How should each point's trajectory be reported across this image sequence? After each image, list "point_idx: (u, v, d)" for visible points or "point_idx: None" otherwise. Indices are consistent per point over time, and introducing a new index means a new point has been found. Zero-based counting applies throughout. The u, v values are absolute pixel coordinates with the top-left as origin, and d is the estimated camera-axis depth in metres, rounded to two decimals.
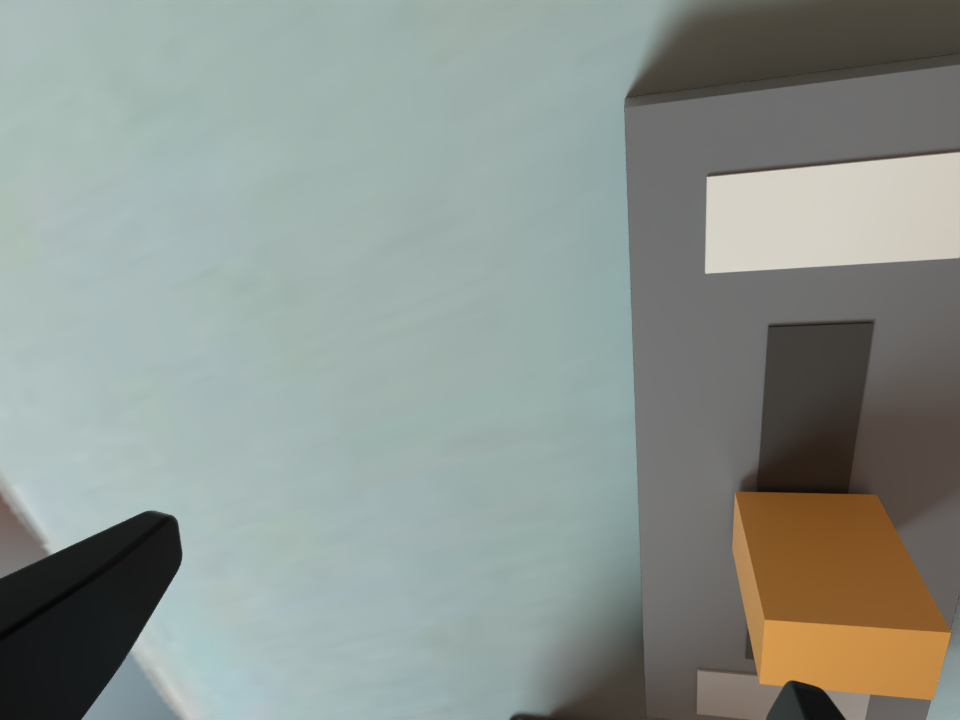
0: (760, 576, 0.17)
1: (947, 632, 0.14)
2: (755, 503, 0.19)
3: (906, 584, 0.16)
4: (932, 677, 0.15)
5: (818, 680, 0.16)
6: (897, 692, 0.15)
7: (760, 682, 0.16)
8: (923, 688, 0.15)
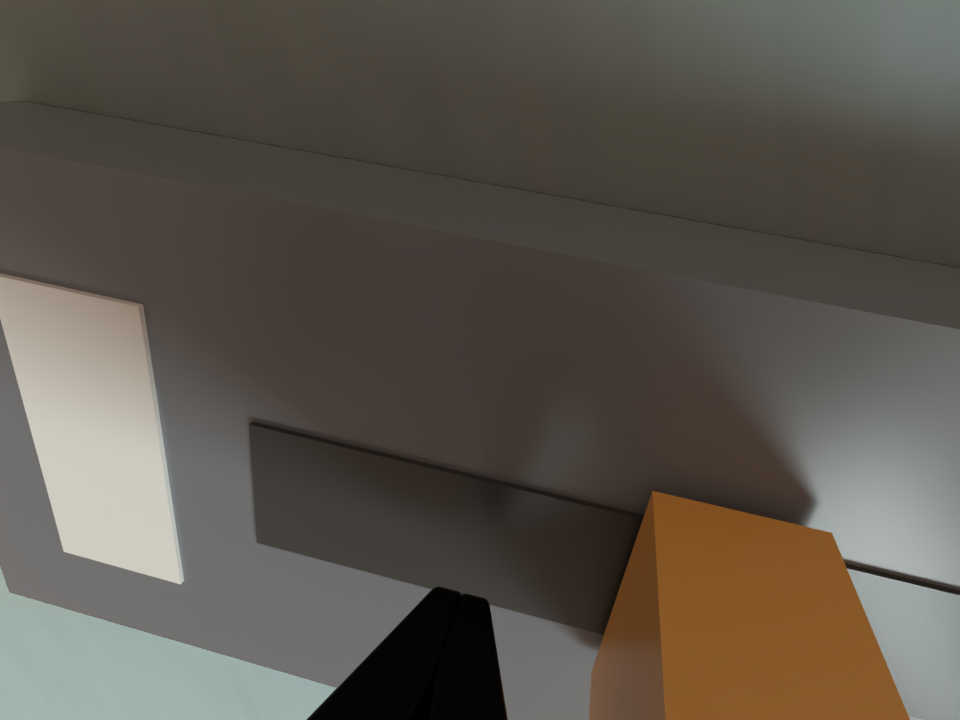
0: None
1: None
2: (596, 682, 0.10)
3: None
4: None
5: None
6: None
7: None
8: None
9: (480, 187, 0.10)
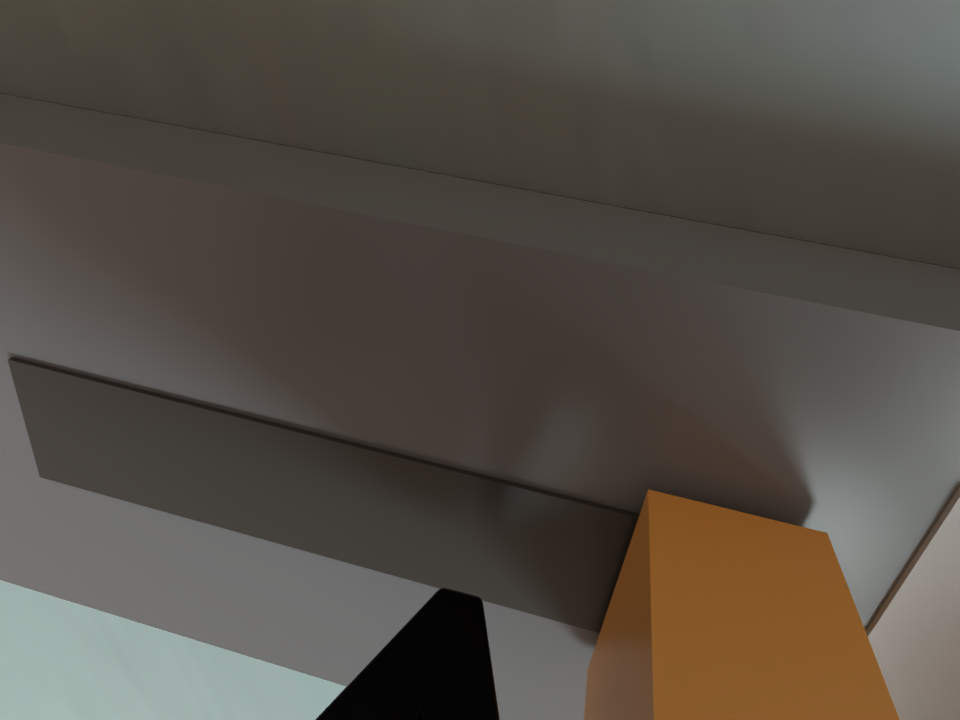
0: None
1: None
2: (591, 679, 0.10)
3: None
4: None
5: None
6: None
7: None
8: None
9: (231, 140, 0.11)
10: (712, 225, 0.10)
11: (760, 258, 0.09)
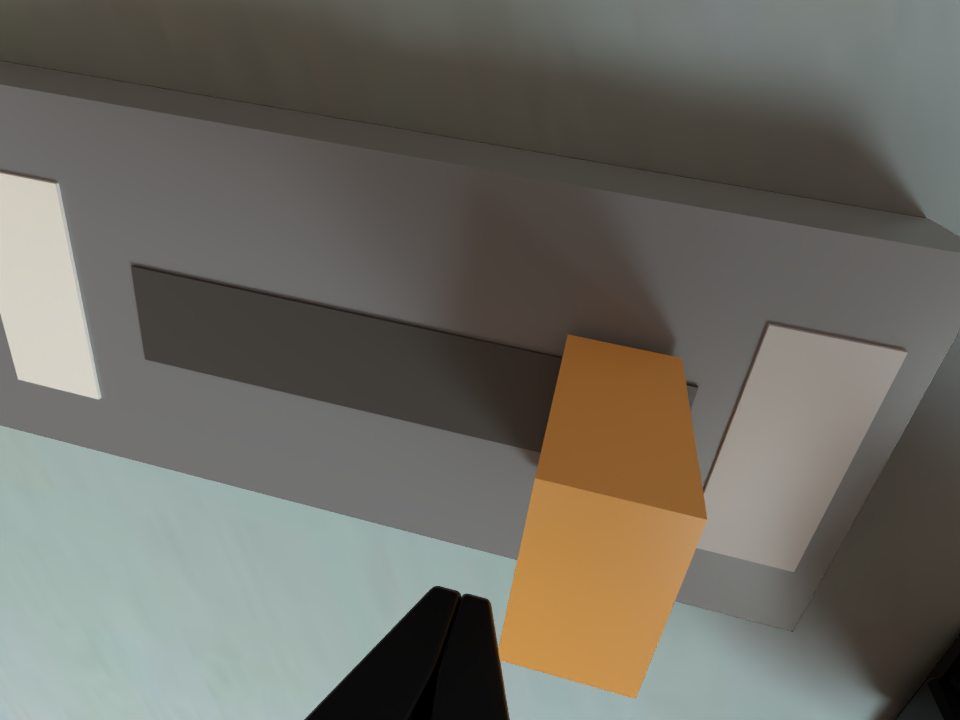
0: None
1: (535, 481, 0.09)
2: None
3: None
4: (644, 513, 0.09)
5: (634, 638, 0.10)
6: (677, 558, 0.09)
7: None
8: (672, 526, 0.09)
9: (287, 112, 0.15)
10: (623, 167, 0.14)
11: (646, 183, 0.13)
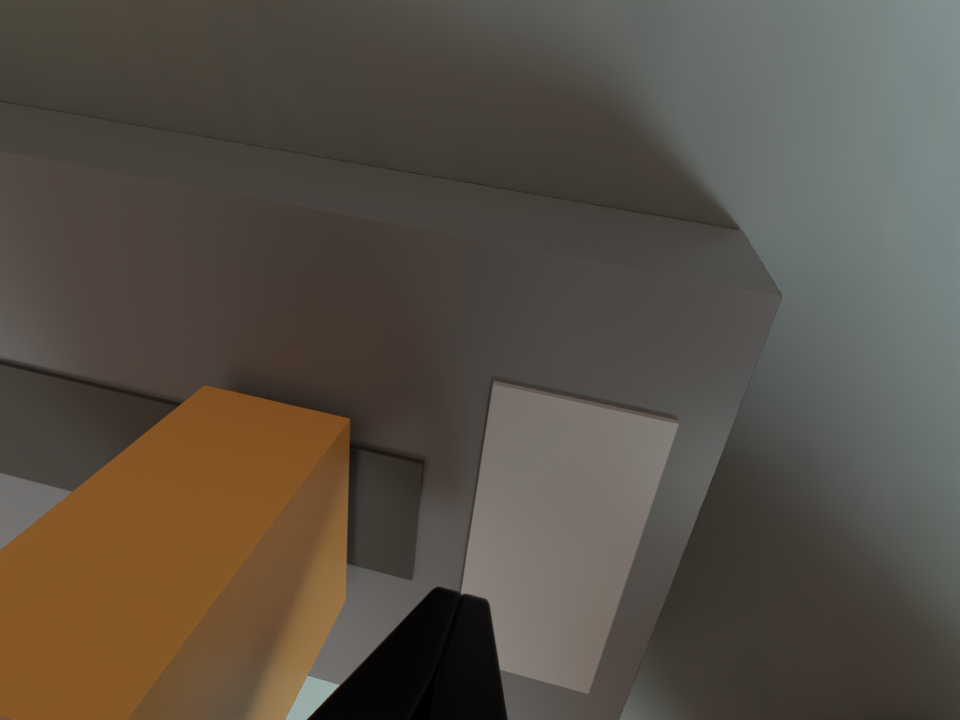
0: None
1: None
2: None
3: None
4: None
5: None
6: None
7: None
8: None
9: None
10: (351, 163, 0.11)
11: (346, 184, 0.10)
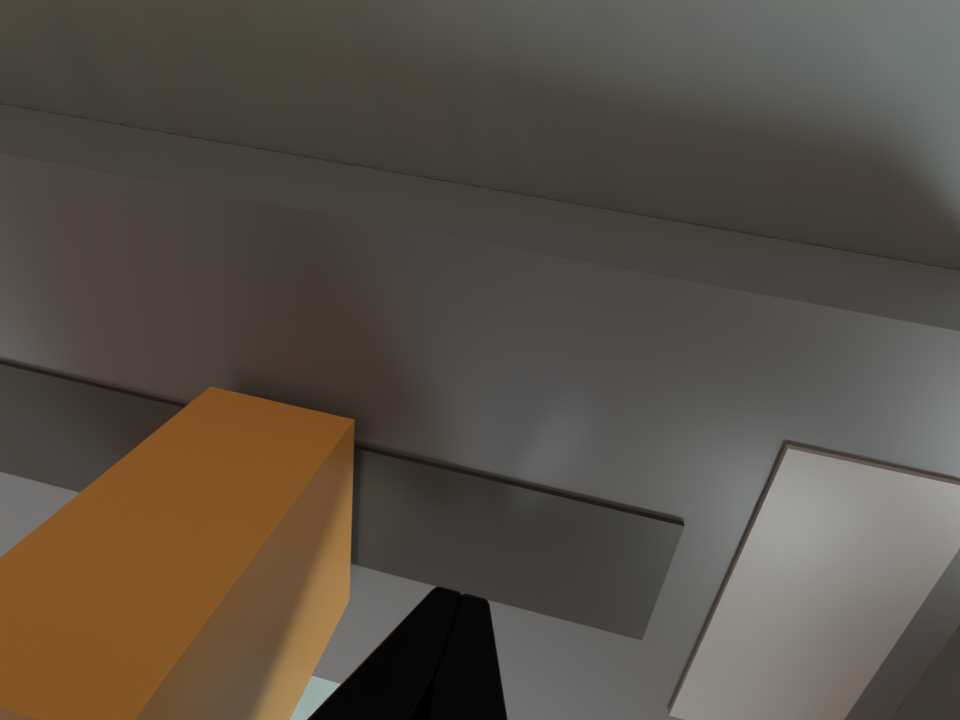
0: None
1: None
2: None
3: None
4: None
5: None
6: None
7: None
8: None
9: (127, 130, 0.11)
10: (580, 206, 0.10)
11: (608, 234, 0.09)
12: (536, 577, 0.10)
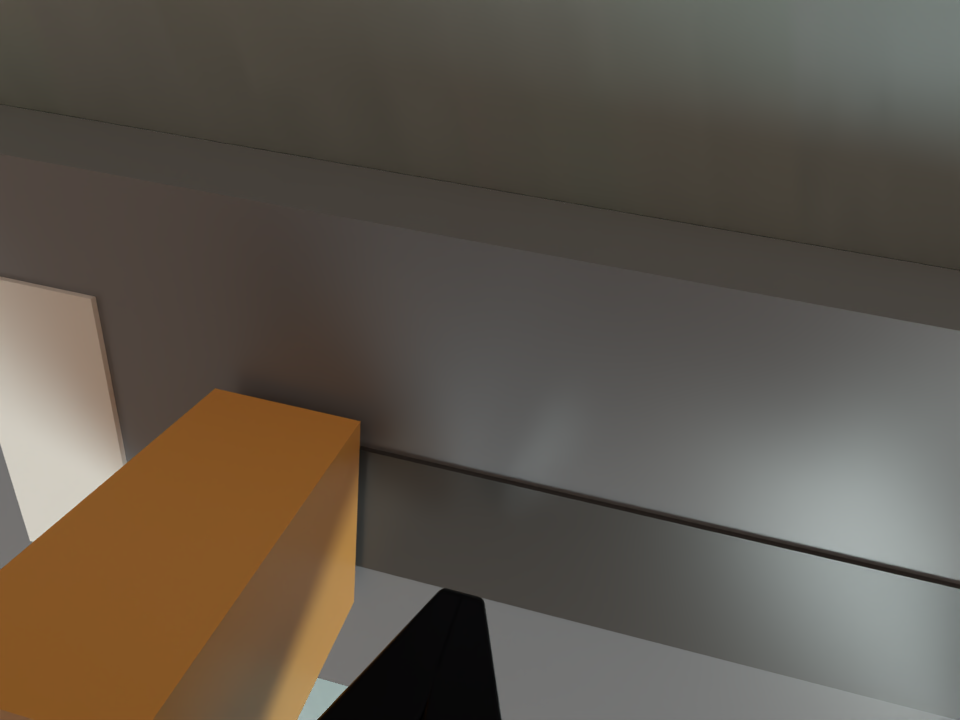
0: None
1: None
2: None
3: None
4: None
5: None
6: None
7: None
8: None
9: (424, 182, 0.11)
10: (936, 268, 0.10)
11: None
12: (894, 665, 0.10)
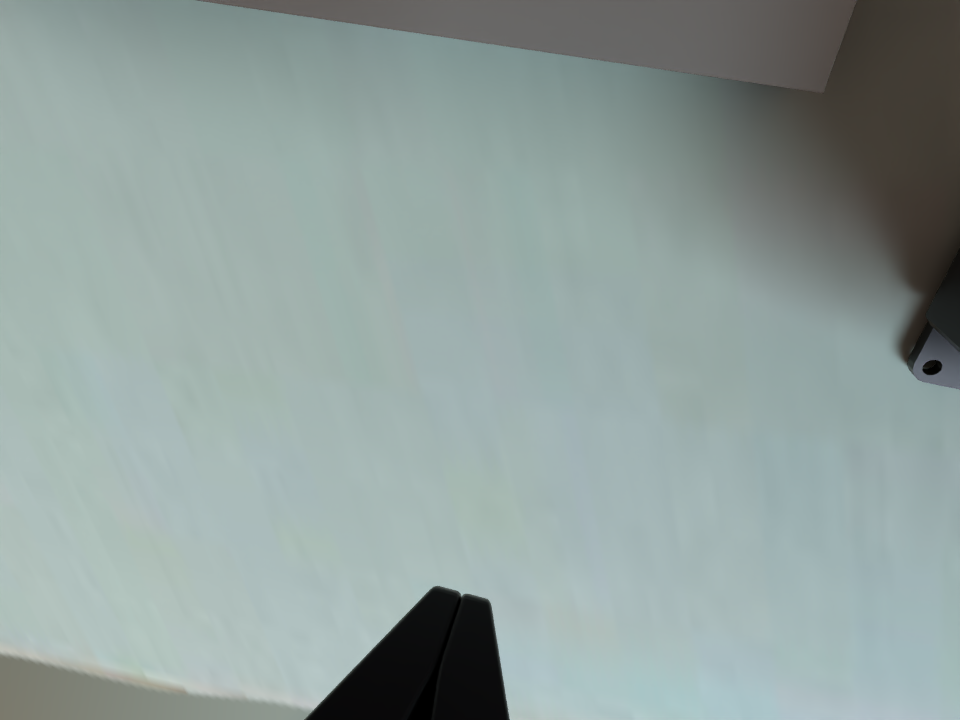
0: None
1: None
2: None
3: None
4: None
5: None
6: None
7: None
8: None
9: None
10: None
11: None
12: None
